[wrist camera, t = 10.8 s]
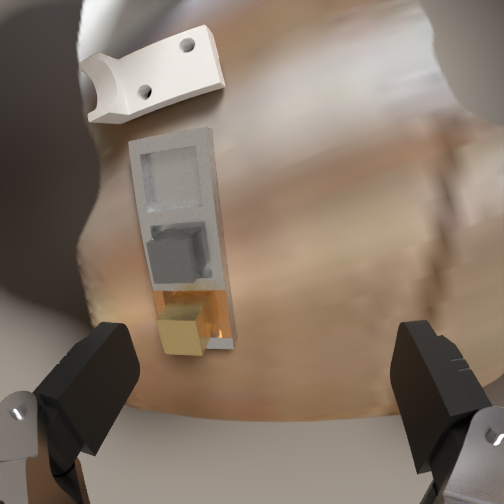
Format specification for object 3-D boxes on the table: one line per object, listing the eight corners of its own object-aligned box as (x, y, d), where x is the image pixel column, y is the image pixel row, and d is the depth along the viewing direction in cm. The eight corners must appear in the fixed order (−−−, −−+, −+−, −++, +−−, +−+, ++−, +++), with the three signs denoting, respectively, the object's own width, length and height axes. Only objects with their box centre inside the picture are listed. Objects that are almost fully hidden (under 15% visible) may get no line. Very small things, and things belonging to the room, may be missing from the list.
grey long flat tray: (136, 141, 33) (126, 141, 31) (211, 128, 32) (205, 127, 29) (172, 336, 41) (165, 347, 39) (237, 338, 40) (233, 349, 38)
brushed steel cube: (164, 230, 35) (146, 243, 31) (200, 227, 35) (186, 240, 30) (170, 266, 37) (154, 283, 32) (206, 265, 36) (194, 283, 31)
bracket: (124, 124, 33) (88, 122, 26) (114, 74, 31) (79, 63, 24) (227, 88, 30) (210, 73, 23) (213, 35, 28) (194, 10, 21)
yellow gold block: (175, 293, 38) (155, 319, 32) (210, 292, 37) (195, 320, 31) (182, 324, 39) (165, 353, 33) (215, 324, 38) (202, 355, 32)
